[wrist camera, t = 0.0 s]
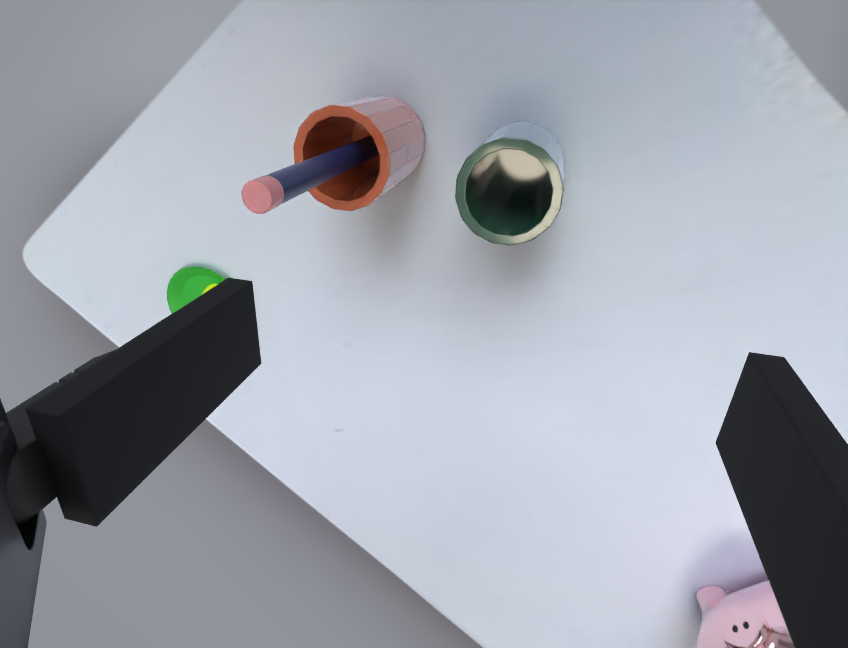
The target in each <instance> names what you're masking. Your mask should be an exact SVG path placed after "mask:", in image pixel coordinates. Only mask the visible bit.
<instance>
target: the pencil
mask: <svg viewBox="0 0 848 648" xmlns="http://www.w3.org/2000/svg"><path fill="white" fill-rule="evenodd" d="M378 155H380V154H379V152H378V149H377V146H376V143H375V141H374V138H373V137H372V136H371V135H370V136H367V137H365V138H362V139H360V140H357V141H354V142H352V143H349V144H346V145H344V146H341V147H339V148H336V149H333V150H331V151H328V152H326V153H323V154H320V155H318V156H315V157H313V158H310V159H307V160H305V161H302V162H300V163H297V164H294V165H292V166H289V167H287V168H284V169H281V170H279V171H276V172H273V173H271V174H268V175H266V176H262V177H259V178H256V179H254V180H251V181H249V182H247V183H246V184H245V185H244V187H243V189H242V199H243V202H244V204H245V205H246V207H247V208H248V209H249V210H251V211H252V212H254V213H258V214H263V213H266V212H268V211H270V210H272V209H274V208H276V207H278V206H279V205H280V204H282V203H284V202H286V201H288V200H290V199H292V198H294V197H296V196H298V195H300V194H302V193H304V192H306V191H308V190H310V189H312V188H314V187H316V186H318V185H320V184H322V183H324V182H326V181H328V180H330V179H332V178H334V177H336V176H338V175H340V174H342V173H344V172H346V171H348V170H350V169H352V168H354V167H356V166H358V165H360V164H362V163H364V162H366V161H368V160H370V159H372V158H374V157H376V156H378Z"/></svg>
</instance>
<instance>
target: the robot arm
mask: <svg viewBox="0 0 848 648" xmlns="http://www.w3.org/2000/svg"><path fill="white" fill-rule="evenodd" d="M260 364H261V357H260V348H259V339H258V329H257V320H256V311H255V302H254V293H253V284H252V281H247V280H240V279H233V278H227V279H225V280H224V281H222V282H221V283H219V284H218V285H216V286H215V287H213V288H211V289H210V290H208V291H207V292H205V293H204V294H202V295H201V296H199V297H197V298H196V299H194V300H193V301H191V302H190V303H188V304H187V305H185V306H183V307H182V308H180V309H179V310H177V311H176V312H174V313H173V314H171V315H169V316H168V317H166V318H165V319H163V320H162V321H160V322H159V323H157V324H155V325H154V326H152V327H151V328H149V329H148V330H146V331H145V332H143V333H141V334H140V335H138V336H137V337H135V338H134V339H132V340H131V341H129V342H127V343H126V344H124V345H123V346H121V347H120V348H118V349H117V350H114V351H111V352H108V353H106V354H103V355H101V356H98V357H95V358H93V359H91V360H90V361H88V362H87V363H85V364H83V365H82V366H80V367H79V368H77V369H75V371H74V373H69V374H67V375H66V376H64V377H63V378H61V379H60V380H59V382H58V383H57V382H55V383H53V384H52V385H50V386H48V387H47V388H45V389H44V390H42V391H40V392H39V393H38V394H36V395H34V396H32V397H31V398H29V399H28V400H26V401H25V402H23V403H21V404H20V405H18V406H17V407H15V408H14V409H12V410H10V411H9V412H7V413H6V412H5V410H4V407H3V404H2V402H1V399H0V648H28V641H29V634H30V628H31V621H32V615H33V608H34V601H35V595H36V588H37V582H38V575H39V569H40V561H41V556H42V548H43V542H44V536H45V529H46V518H45V514H44V512H43V508H44V507H45V506H47V505H48V504H49V503H50V502H51V501H52V500H54V499H55V498H56V497H57V498H58V501H59V504H60V507H61V509H62V512H63V515H64V518H65V519H69V520H73V521H77V522H81V523H84V524H88V525H93V526H98V525H99V524H100V523H101V522H102V521H103V520H104V519H105V518H106V517H107V516H108V515H109V514H110V513H111V512H112V511H113V510H114V509H115V508H116V507H117V506H118V505H119V504H120V503H121V502H122V501H123V500H124V499H125V498H126V497H127V496H128V495H129V494H130V493H131V492H132V491H133V490H134V489H135V488H136V487H137V486H138V485H139V484H140V483H141V482H142V481H143V480H144V479H145V478H146V477H147V476H148V475H149V474H150V473H151V472H152V471H153V470H154V469H155V468H156V467H157V466H158V465H159V464H160V463H161V462H162V461H163V460H164V459H165V458H166V457H167V456H168V455H169V454H170V453H171V452H172V451H173V450H175V448H177V446H179V444H180V443H182V442H183V441H184V440H185V439H186V437H188V436H189V435H190V434H191V433H192V432H193V431H194V430H195V429H196V428H197V427H198V426H199V425H200V424H201V423H202V422H203V421H204V420H205V419H206V418H207V417H208V416H209V415H210V414H211V413H212V412H213V411H214V410H215V409H216V408H217V407H218V406H219V405H220V404H221V403H222V402H223V401H224V400H225V399H226V398H227V397H228V396H229V395H230V394H231V393H232V392H233V391H234V390H235V389H236V388H237V387H238V386H239V385H240V384H241V383H242V382H243V381H244V380H245V379H246V378H247V377H248V376H249V375H250V374H251V373H252V372H253V371H254V370H255V369H256V368H257V367H258V366H259V365H260ZM716 445H717V448H718V450H719V453H720V455H721V458H722V461H723V463H724V466H725V468H726V471H727V474H728V476H729V479H730V481H731V484H732V487H733V489H734V492H735V494H736V497H737V500H738V502H739V505H740V507H741V510H742V512H743V515H744V518H745V520H746V523H747V525H748V528H749V531H750V533H751V536H752V538H753V541H754V544H755V546H756V549H757V551H758V554H759V557H760V559H761V562H762V564H763V567H764V569H765V572H766V575H767V577H768V580H769V582H770V585H771V588H772V590H773V593H774V595H775V598H776V601H777V603H778V606H779V608H780V611H781V614H782V616H783V619H784V621H785V624H786V626H787V629H788V632H789V634H790V637H791V639H792V642H793V645H794V647H795V648H848V444H847V443H846V441H845V440H844V439H843V437H842V436H841V435H840V433H839V432H838V430H837V429H836V428H835V426H834V425H833V424H832V422H831V421H830V419H829V418H828V417H827V415H826V414H825V413H824V411H823V410H822V408H821V407H820V406H819V404H818V403H817V402H816V400H815V399H814V397H813V396H812V395H811V393H810V392H809V391H808V389H807V388H806V386H805V385H804V384H803V382H802V381H801V380H800V378H799V377H798V375H797V374H796V373H795V371H794V370H793V369H792V367H791V366H790V364H789V363H788V362H787V360H786V359H785V358H784V357H779V356H772V355H765V354H758V353H751V352H749V354H748V357H747V360H746V362H745V365H744V368H743V370H742V373H741V376H740V378H739V381H738V384H737V386H736V389H735V392H734V395H733V397H732V400H731V403H730V405H729V408H728V411H727V413H726V416H725V419H724V422H723V424H722V427H721V430H720V432H719V435H718V438H717V440H716Z"/></svg>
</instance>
